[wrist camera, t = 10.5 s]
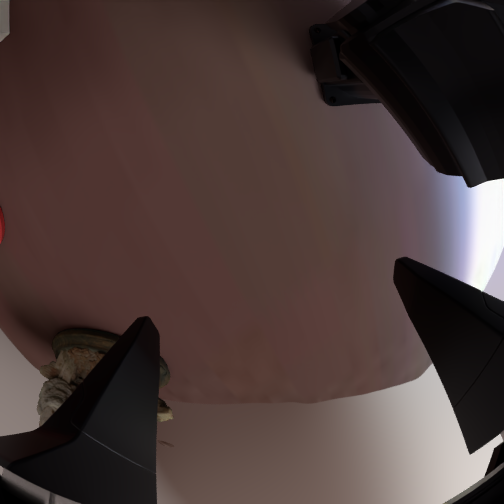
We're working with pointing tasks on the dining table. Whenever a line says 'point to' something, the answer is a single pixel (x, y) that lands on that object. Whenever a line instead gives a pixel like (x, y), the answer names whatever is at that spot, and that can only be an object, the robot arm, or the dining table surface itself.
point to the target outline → (4, 19)
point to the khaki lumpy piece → (81, 369)
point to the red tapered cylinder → (1, 226)
